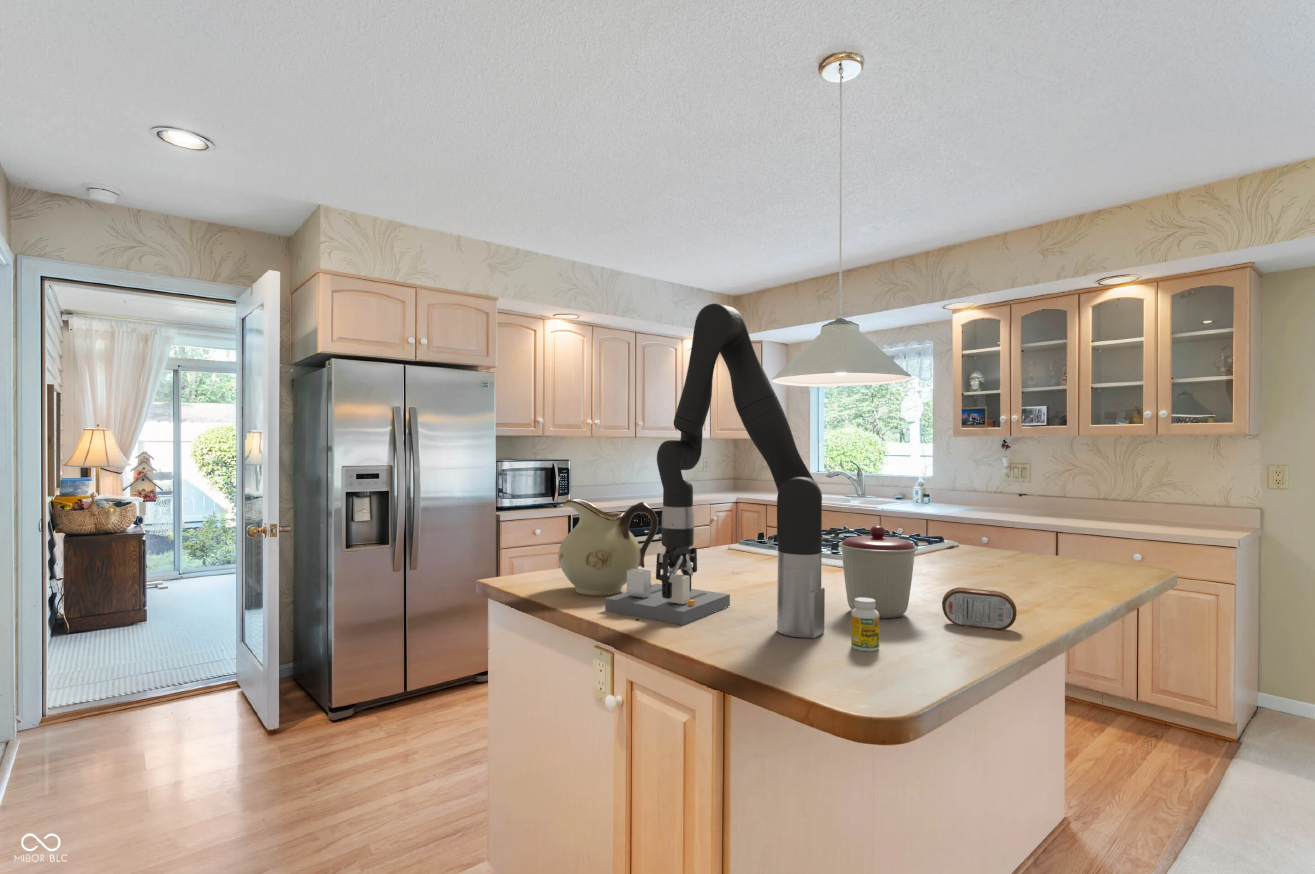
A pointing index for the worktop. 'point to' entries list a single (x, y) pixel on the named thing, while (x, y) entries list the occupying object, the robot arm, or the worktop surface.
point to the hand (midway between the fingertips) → (676, 594)
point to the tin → (979, 608)
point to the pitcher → (602, 548)
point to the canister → (879, 571)
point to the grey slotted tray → (668, 605)
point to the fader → (680, 589)
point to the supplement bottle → (865, 625)
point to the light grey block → (639, 582)
